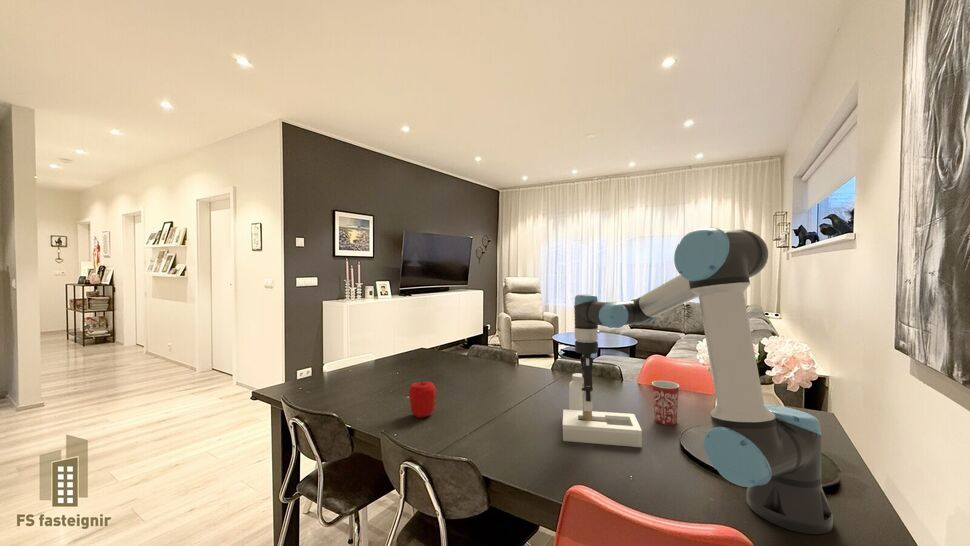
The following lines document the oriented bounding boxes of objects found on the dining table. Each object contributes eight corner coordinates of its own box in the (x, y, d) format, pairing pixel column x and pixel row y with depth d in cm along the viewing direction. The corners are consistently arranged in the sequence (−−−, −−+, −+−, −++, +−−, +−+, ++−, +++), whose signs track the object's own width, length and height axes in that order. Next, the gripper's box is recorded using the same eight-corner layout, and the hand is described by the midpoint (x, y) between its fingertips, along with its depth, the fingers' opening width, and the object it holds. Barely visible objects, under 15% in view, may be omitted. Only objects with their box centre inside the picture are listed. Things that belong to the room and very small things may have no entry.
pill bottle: (566, 415, 144) (566, 376, 144) (572, 408, 151) (571, 371, 151) (587, 419, 140) (587, 378, 140) (592, 412, 147) (592, 373, 147)
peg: (596, 438, 124) (596, 387, 124) (579, 436, 125) (578, 386, 125) (595, 431, 130) (595, 382, 130) (578, 429, 131) (578, 382, 131)
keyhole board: (641, 447, 117) (641, 430, 117) (562, 440, 123) (562, 424, 123) (634, 429, 131) (634, 414, 131) (563, 423, 136) (563, 409, 136)
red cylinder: (428, 422, 139) (428, 385, 139) (404, 419, 142) (403, 383, 142) (440, 412, 149) (440, 377, 149) (417, 409, 152) (417, 375, 152)
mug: (677, 428, 131) (676, 389, 131) (649, 422, 137) (649, 385, 137) (683, 417, 141) (683, 380, 141) (657, 411, 147) (657, 377, 147)
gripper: (601, 348, 115) (601, 418, 115) (595, 334, 139) (596, 392, 139) (575, 347, 116) (576, 416, 116) (574, 334, 141) (575, 391, 141)
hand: (587, 403), depth 128 cm, fingers open, 13 cm apart
